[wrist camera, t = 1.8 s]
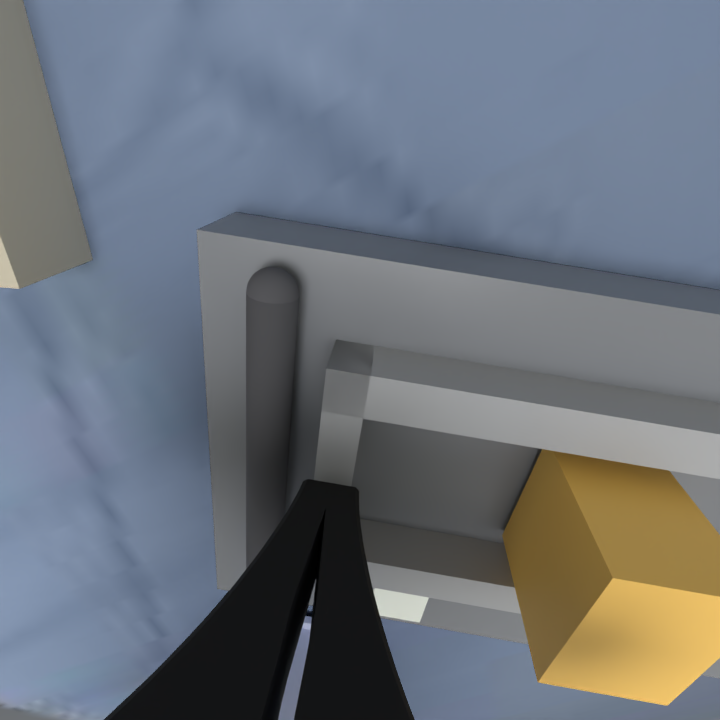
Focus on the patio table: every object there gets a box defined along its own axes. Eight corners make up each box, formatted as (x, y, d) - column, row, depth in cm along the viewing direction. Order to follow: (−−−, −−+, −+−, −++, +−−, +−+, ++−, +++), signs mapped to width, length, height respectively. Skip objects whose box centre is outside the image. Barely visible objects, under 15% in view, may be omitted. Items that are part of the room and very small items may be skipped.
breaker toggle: (596, 552, 13) (667, 705, 9) (501, 535, 13) (537, 682, 10) (658, 457, 11) (776, 606, 8) (547, 438, 11) (612, 577, 8)
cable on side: (284, 562, 15) (275, 594, 14) (252, 556, 15) (241, 588, 14) (306, 264, 10) (294, 280, 9) (256, 256, 10) (238, 271, 9)
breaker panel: (729, 621, 18) (807, 737, 15) (239, 535, 18) (201, 628, 15) (1023, 339, 11) (1302, 430, 8) (235, 212, 12) (163, 244, 8)
